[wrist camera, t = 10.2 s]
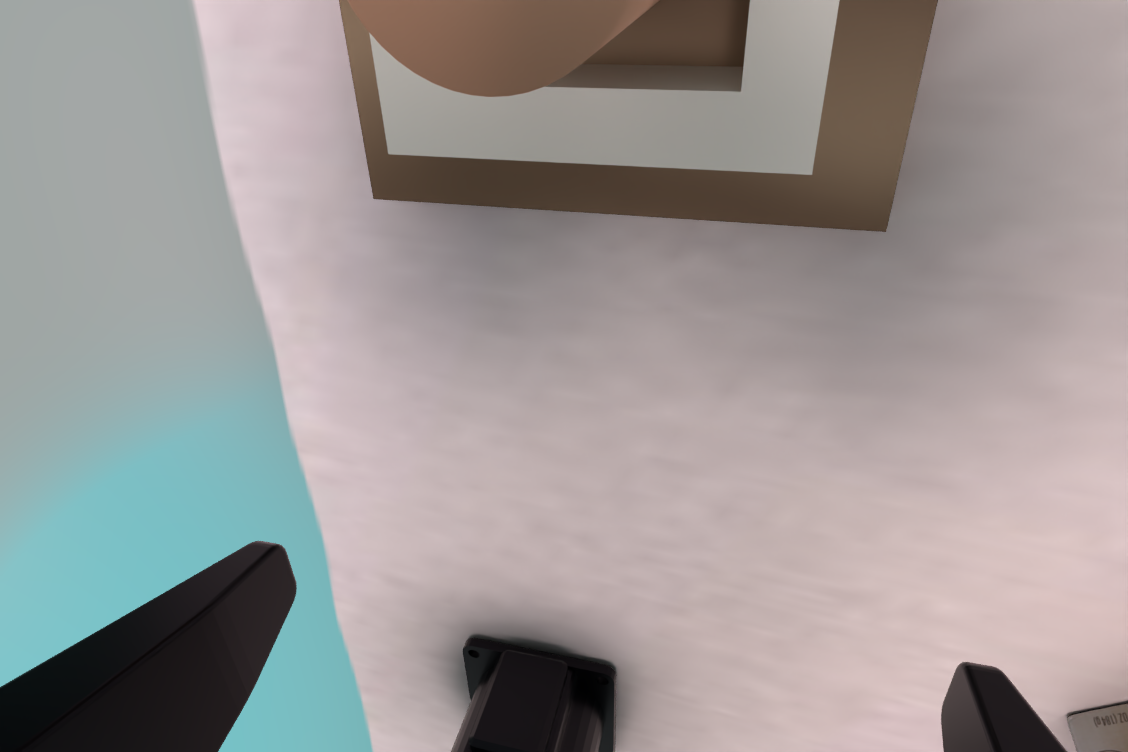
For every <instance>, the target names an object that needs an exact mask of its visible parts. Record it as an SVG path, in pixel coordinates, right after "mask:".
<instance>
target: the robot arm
mask: <svg viewBox="0 0 1128 752" xmlns="http://www.w3.org/2000/svg"><path fill="white" fill-rule="evenodd" d="M295 595H296V580H295V577H294V574H293V571H292V568H291V565H290V562H289V559H288V555H287V552H286V550H285V548H284V547H283V546H282V545H280V544H275V543H269V542H263V541H255V542H252V543H250V544H248V545H246V546H245V547H243V548H241V549H239V550H238V551H236V552H234V553H232V554H231V555H229V556H227V557H225V558H224V559H222V560H220V561H218V562H217V563H215V564H213V565H212V566H210V567H208V568H206V569H205V570H203V571H201V572H199V573H198V574H196V575H194V576H192V577H191V578H189V579H187V580H186V581H184V582H182V583H180V584H179V585H177V586H175V587H174V588H172V589H170V590H169V591H166V592H165V593H163V594H161V595H160V596H158V597H156V598H154V599H153V600H151V601H149V602H147V603H146V604H144V605H142V606H140V607H139V608H137V609H135V610H133V611H132V612H130V613H128V614H126V615H125V616H123V617H121V618H120V619H118V620H116V621H114V622H113V623H111V624H109V625H107V626H106V627H104V628H103V629H101V630H99V631H97V632H95V633H94V634H92V635H90V636H88V637H87V638H85V639H83V640H81V641H80V642H78V643H76V644H74V645H73V646H71V647H69V648H68V649H66V650H64V651H62V652H61V653H59V654H57V655H55V656H54V657H52V658H50V659H48V660H47V661H45V662H43V663H42V664H40V665H38V666H36V667H34V668H33V669H31V670H29V671H28V672H26V673H24V674H22V675H21V676H19V677H17V678H15V679H14V680H12V681H10V682H8V683H7V684H5V685H3V686H1V687H0V752H218V751H219V749H220V747H221V745H222V744H223V742H224V740H225V739H226V737H227V735H228V733H229V732H230V730H231V728H232V727H233V725H234V723H235V721H236V720H237V718H238V716H239V715H240V713H241V711H242V709H243V707H244V705H245V703H246V702H247V700H248V698H249V696H250V694H251V692H252V690H253V688H254V686H255V684H256V682H257V680H258V678H259V676H260V674H261V671H262V669H263V667H264V665H265V663H266V661H267V658H268V656H269V654H270V652H271V650H272V647H273V645H274V643H275V641H276V639H277V636H278V634H279V632H280V630H281V628H282V625H283V623H284V621H285V619H286V617H287V615H288V613H289V610H290V608H291V606H292V604H293V601H294V598H295ZM463 656H464V662H465V668H466V675H467V681H468V687H469V693H470V699H471V703H470V705H469V708H468V710H467V713H466V715H465V718H464V720H463V723H462V725H461V728H460V730H459V733H458V735H457V738H456V741H455V743H454V746H453V748H452V751H451V752H615V723H616V672H615V671H614V669H613V668H611V667H609V666H607V665H603V664H599V663H594V662H589V661H584V660H579V659H574V658H569V657H565V656H560V655H555V654H550V653H545V652H540V651H535V650H530V649H526V648H521V647H516V646H511V645H506V644H501V643H496V642H492V641H487V640H482V639H477V638H470V639H468V640H467V641H466V643H465V646H464V648H463ZM941 725H942V736H943V748H944V752H1067V751H1066V750H1065V748H1064V747H1063V746H1062V745H1061V743H1060V742H1059V741H1058V740H1057V738H1056V737H1055V736H1054V735H1053V733H1052V732H1051V731H1050V730H1049V728H1048V727H1047V726H1046V725H1045V723H1044V722H1043V721H1042V720H1041V718H1040V717H1039V716H1038V715H1037V714H1036V712H1035V711H1034V710H1033V709H1032V707H1031V706H1030V705H1029V704H1028V702H1027V701H1026V700H1025V699H1024V697H1023V696H1022V695H1021V694H1020V692H1019V691H1018V690H1017V689H1016V687H1015V686H1014V685H1013V684H1012V682H1011V681H1010V680H1009V679H1008V677H1007V676H1006V675H1005V674H1004V673H1003V672H1002V671H1001V670H999V669H998V668H996V667H992V666H987V665H981V664H975V663H970V662H962V663H960V664H959V665H958V667H957V668H956V671H955V673H954V676H953V678H952V681H951V684H950V686H949V689H948V692H947V694H946V697H945V699H944V702H943V706H942V714H941Z"/></svg>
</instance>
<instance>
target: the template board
mask: <svg viewBox="0 0 1128 752" xmlns="http://www.w3.org/2000/svg"><path fill="white" fill-rule="evenodd" d="M937 2H938V0H660V1H659V2H657V3H656V4H655V5H654V6H652V7H651V8H650V9H649V10H648V11H646V12H645V13H644V14H643V15H641V16H640V17H639V18H638V19H636V20H635V21H634V22H633V23H632V24H630V25H629V26H628V27H627V28H625V29H624V30H623V31H622V32H620V33H619V34H618V35H617V36H615V37H614V38H613V39H612V40H611V41H609V42H608V43H607V44H606V45H604V46H603V47H602V48H601V49H599V50H598V51H597V52H596V53H595V54H593V55H592V56H591V57H590V58H588V59H587V60H586V61H585V62H583V63H582V64H581V65H580V66H578V67H577V68H575V69H574V70H573V71H571V72H570V73H569V74H567V75H566V76H564V77H562V78H561V79H559V80H557V81H555V82H553V83H551V84H549V85H547V86H545V87H542V88H539V89H536V90H533V91H531V92H528V93H523V94H517V95H512V96H501V97H484V96H474V95H468V94H464V93H460V92H456V91H452V90H449V89H446V88H444V87H441V86H439V85H436V84H434V83H432V82H430V81H428V80H426V79H424V78H422V77H421V76H419V75H417V74H415V73H414V72H412V71H411V70H410V69H408V68H407V67H405V66H404V65H403V64H401V63H400V62H398V61H397V60H396V59H395V58H394V57H393V56H392V55H391V54H389V53H388V52H387V51H386V50H385V49H384V48H383V47H382V46H381V45H380V44H379V43H378V42H377V41H376V39H375V38H374V37H373V36H372V35H371V34H370V33H369V31H368V30H367V29H366V28H365V26H364V25H363V24H362V22H361V21H360V19H359V18H358V16H357V15H356V14H355V12H354V11H353V9H352V7H351V6H350V4H349V2H348V0H339V3H340V9H341V15H342V20H343V26H344V32H345V38H346V43H347V49H348V55H349V61H350V66H351V72H352V78H353V83H354V89H355V95H356V101H357V106H358V112H359V118H360V124H361V129H362V135H363V141H364V147H365V152H366V158H367V164H368V170H369V175H370V181H371V187H372V192H373V198H374V199H383V200H398V201H414V202H430V203H445V204H461V205H476V206H492V207H507V208H523V209H539V210H554V211H570V212H585V213H601V214H617V215H632V216H648V217H663V218H679V219H695V220H710V221H726V222H741V223H757V224H773V225H788V226H804V227H819V228H835V229H850V230H866V231H882V232H886V229H887V225H888V221H889V216H890V212H891V207H892V203H893V198H894V194H895V189H896V185H897V180H898V176H899V171H900V167H901V162H902V158H903V154H904V149H905V145H906V140H907V136H908V131H909V127H910V122H911V118H912V113H913V109H914V104H915V100H916V95H917V91H918V86H919V82H920V78H921V73H922V69H923V64H924V60H925V55H926V51H927V46H928V42H929V37H930V33H931V28H932V24H933V19H934V15H935V10H936V6H937Z"/></svg>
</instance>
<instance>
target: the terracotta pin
mask: <svg viewBox="0 0 1128 752" xmlns="http://www.w3.org/2000/svg"><path fill="white" fill-rule="evenodd" d="M659 1H660V0H348V2H349V4H350V6H351V7H352V9H353V11H354V12H355V14H356V15H357V16H358V18H359V19H360V21H361V22H362V24H363V25H364V26H365V28H366V29H367V30H368V31H369V33H370V34H371V35H372V36H373V37H374V38H375V39H376V41H377V42H378V43H379V44H380V45H381V46H382V47H383V48H384V49H385V50H386V51H387V52H388V53H389V54H391V55H392V56H393V57H394V58H395V59H396V60H397V61H398V62H400V63H401V64H403V65H404V66H405V67H407V68H408V69H410V70H411V71H412V72H414V73H415V74H417V75H419V76H421V77H422V78H424V79H426V80H428V81H430V82H432V83H434V84H436V85H439V86H441V87H444V88H446V89H449V90H452V91H456V92H460V93H464V94H468V95H474V96H484V97H501V96H512V95H517V94H523V93H528V92H531V91H533V90H536V89H539V88H542V87H545V86H547V85H549V84H551V83H553V82H555V81H557V80H559V79H561V78H562V77H564V76H566V75H567V74H569V73H570V72H571V71H573V70H574V69H575V68H577V67H578V66H580V65H581V64H582V63H583V62H585V61H586V60H587V59H588V58H590V57H591V56H592V55H593V54H595V53H596V52H597V51H598V50H599V49H601V48H602V47H603V46H604V45H606V44H607V43H608V42H609V41H611V40H612V39H613V38H614V37H615V36H617V35H618V34H619V33H620V32H622V31H623V30H624V29H625V28H627V27H628V26H629V25H630V24H632V23H633V22H634V21H635V20H636V19H638V18H639V17H640V16H641V15H643V14H644V13H645V12H646V11H648V10H649V9H650V8H651V7H652V6H654V5H655V4H656V3H657V2H659Z"/></svg>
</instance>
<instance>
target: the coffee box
mask: <svg viewBox="0 0 1128 752" xmlns="http://www.w3.org/2000/svg"><path fill="white" fill-rule="evenodd" d="M1067 721H1068V726H1069V729H1070V732H1071V735H1072V737H1073V740H1074V744H1075V747H1076V750H1077V752H1128V704H1123V705H1118V706H1113V707H1108V708H1103V709H1098V710H1093V711H1088V712H1083V713H1079V714H1075V715H1071V716H1069V717H1068V718H1067Z"/></svg>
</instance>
